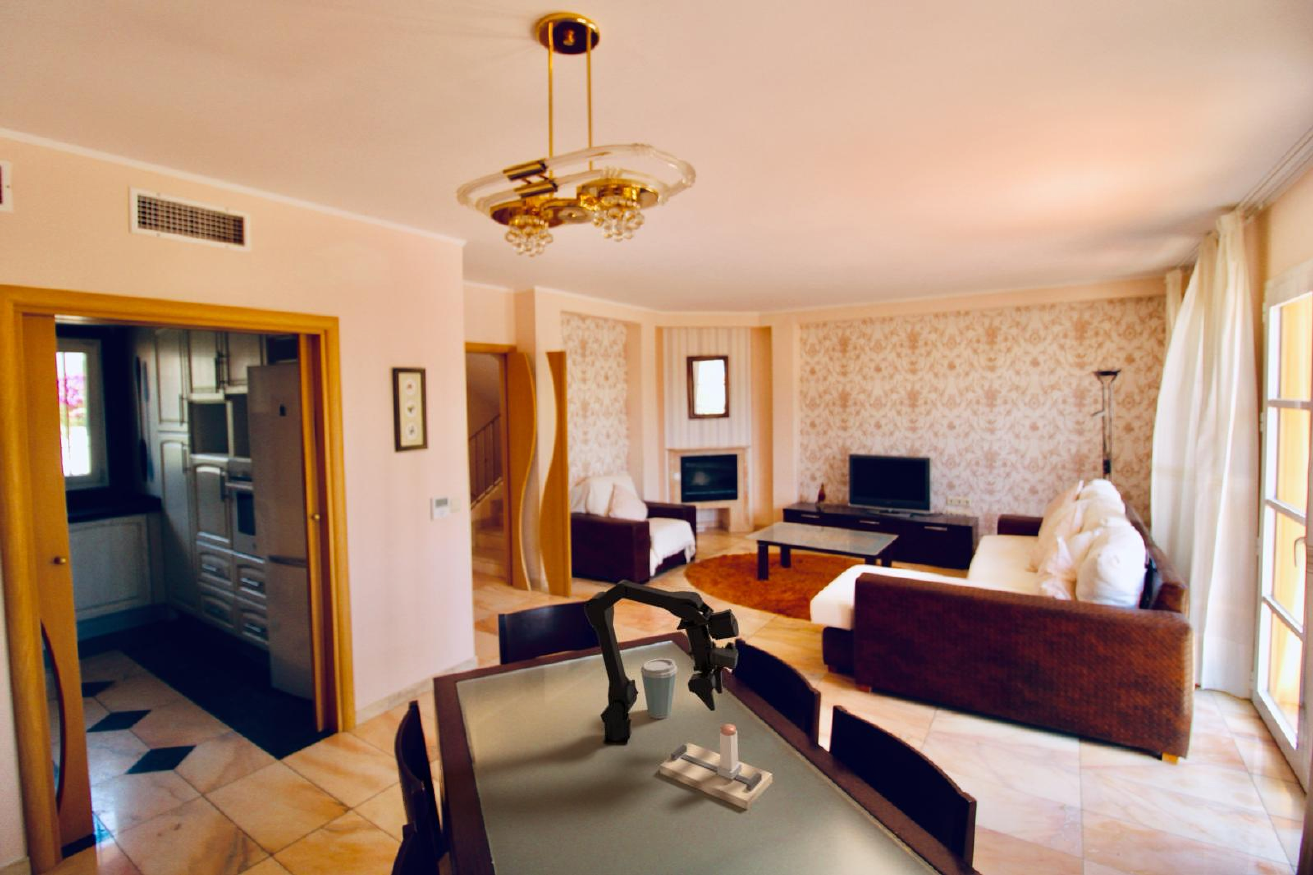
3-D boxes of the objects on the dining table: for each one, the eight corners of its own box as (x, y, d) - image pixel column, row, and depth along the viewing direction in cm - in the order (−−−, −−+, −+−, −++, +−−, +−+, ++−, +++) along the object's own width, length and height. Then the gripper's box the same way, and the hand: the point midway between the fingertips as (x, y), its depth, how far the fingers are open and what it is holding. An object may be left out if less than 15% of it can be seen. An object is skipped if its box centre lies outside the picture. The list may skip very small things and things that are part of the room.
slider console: (660, 773, 151) (659, 759, 151) (687, 749, 160) (687, 737, 160) (747, 809, 136) (747, 794, 136) (772, 782, 146) (771, 768, 146)
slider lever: (717, 773, 145) (716, 729, 145) (726, 764, 149) (725, 721, 148) (732, 779, 143) (731, 734, 142) (741, 770, 146) (740, 726, 146)
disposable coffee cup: (636, 719, 177) (634, 668, 176) (650, 701, 187) (648, 653, 186) (670, 725, 173) (669, 673, 172) (683, 707, 183) (682, 657, 182)
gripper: (723, 652, 147) (740, 716, 147) (736, 624, 165) (752, 681, 165) (679, 659, 150) (696, 721, 150) (697, 631, 168) (713, 686, 168)
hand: (716, 701), depth 158 cm, fingers open, 9 cm apart
